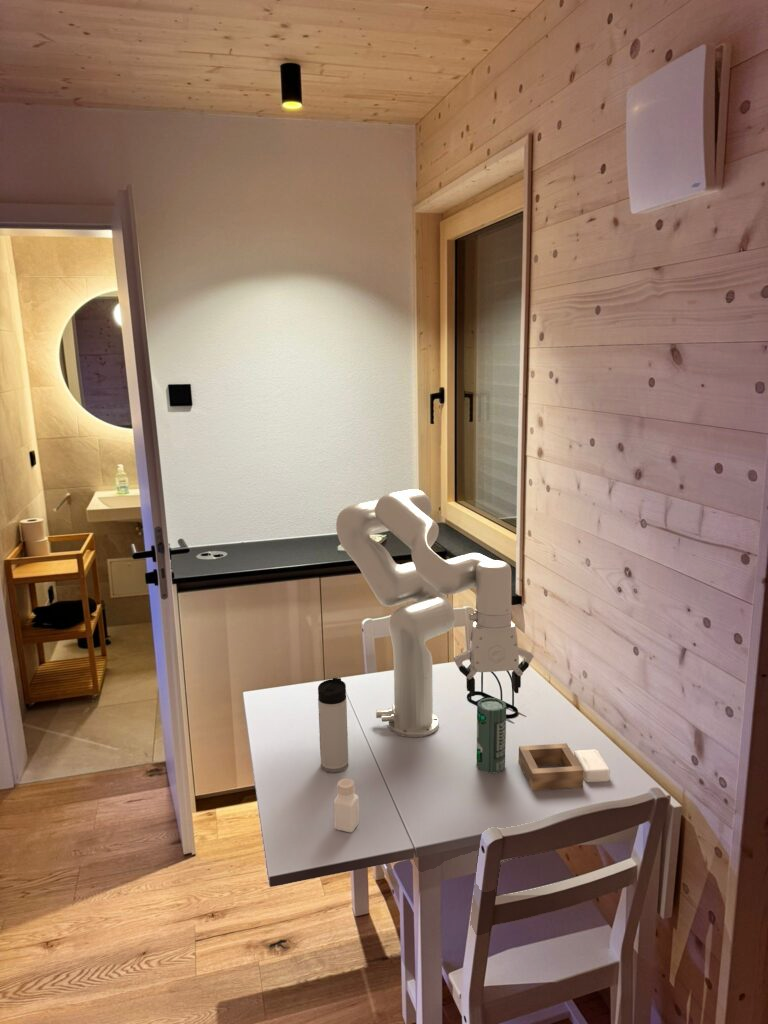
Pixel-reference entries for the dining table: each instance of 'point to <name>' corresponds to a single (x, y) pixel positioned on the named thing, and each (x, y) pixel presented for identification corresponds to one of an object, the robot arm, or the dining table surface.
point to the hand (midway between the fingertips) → (493, 692)
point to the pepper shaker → (346, 806)
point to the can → (491, 735)
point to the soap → (592, 765)
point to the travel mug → (333, 725)
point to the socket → (550, 777)
